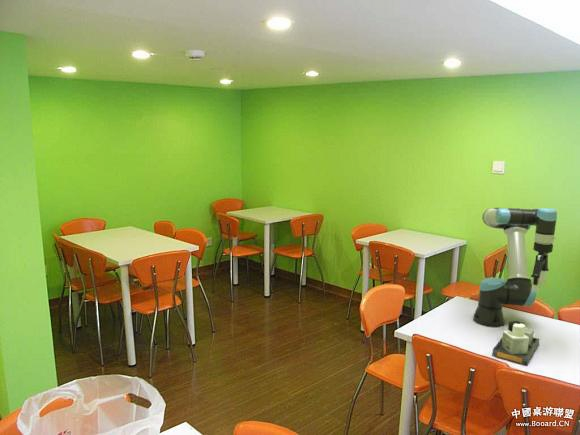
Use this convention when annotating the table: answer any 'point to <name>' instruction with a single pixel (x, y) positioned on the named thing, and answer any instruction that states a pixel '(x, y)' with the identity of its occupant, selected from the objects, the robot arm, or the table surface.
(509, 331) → the container
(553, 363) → the table surface
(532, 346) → the rack tray
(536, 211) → the robot arm
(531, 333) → the filler block
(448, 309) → the table surface
